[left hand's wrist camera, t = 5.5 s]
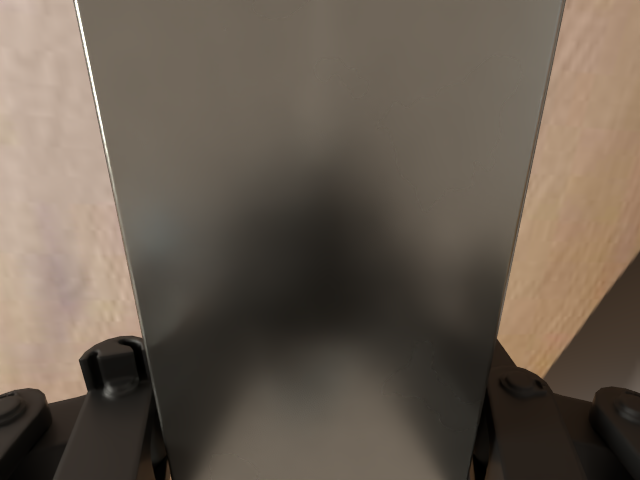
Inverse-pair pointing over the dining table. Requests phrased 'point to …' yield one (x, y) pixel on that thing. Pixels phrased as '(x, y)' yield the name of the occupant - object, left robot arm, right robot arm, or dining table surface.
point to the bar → (319, 220)
